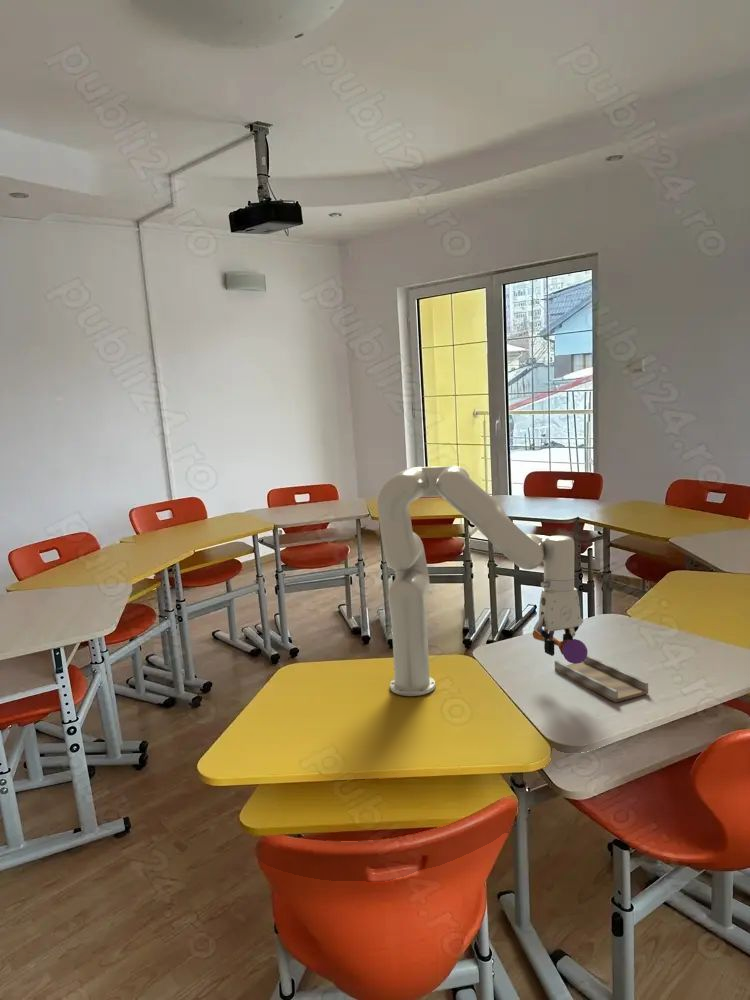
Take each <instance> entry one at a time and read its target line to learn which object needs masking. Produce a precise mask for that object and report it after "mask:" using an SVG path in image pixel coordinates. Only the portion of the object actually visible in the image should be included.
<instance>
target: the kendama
mask: <svg viewBox="0 0 750 1000" xmlns="http://www.w3.org/2000/svg"><path fill="white" fill-rule="evenodd" d="M532 637H533V638H534V640H538V641H540V642H544V638H543V637H542V636H541V635H540V634H539V633H538V632H537V631H535V630H534V629H533V631H532ZM552 640H553V641H554V646H557V647H558V648H559V652H560V653H561V654H562V656H563V658H564V659H565V660H566V661H567V662H568V663H569V664H570V663H571V664H578V663H581V662H583V661H584V660H585V659H586V657H587V655H588V654H589V653H588V647H587V645H586V644H585V643H584V642H583V641H581V640H580V639H577V638H573V640H564V641H563V640H558V639H557V638H555V637H554V636H553V639H552Z"/></svg>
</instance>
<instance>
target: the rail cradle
mask: <svg viewBox="0 0 750 1000" xmlns="http://www.w3.org/2000/svg"><path fill="white" fill-rule="evenodd" d="M554 671H556V672H558V673H559V674H561V675H563V676H565V677H567V678H568V679H569V680H572V681H573V682H576V683H578V684H580V685H581V686H583V687H585V688H587V689H589V690H591V691H593V692H595V693H597V694H599V695H601V696H603V697H604V698H606V699H607V700H610V701H612V702H614V703H618V702H622V701H624V700H625V701H626V700H629V699H633V698H636V697H640V696H643V695H646V694H649V682H647V681H645V680H642V679H641V678H639V677H636V676H633V675H632V674H629V673H628V672H625V671H623V670H621V669H618V667H617V668H616V667H614V666H613V665H610V664H608V663H605V662H603V661H602V660H598V659H596V658H595V657H592V656H590V655H588V654H587V657H586V659H585V660H584V661H583V662H581V663H578V664H573V663H571V664H570V663H569V664H564V663H562V662H560V661H559V660H555V661H554Z"/></svg>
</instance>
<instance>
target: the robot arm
mask: <svg viewBox="0 0 750 1000" xmlns="http://www.w3.org/2000/svg"><path fill="white" fill-rule="evenodd" d="M469 474H470V473H469V472H468V471H467V470H466V469H465V468H463V467H461V466H459V465H447V466H443V465H441V466H414V467H409V468H406V469H404V470H401V471H400V472H398V473H395V475H393V476H392V477H391V478H389V479H388V480H387V481H386V482H385V483H384V485H383V486H382V487H381V489H380V491H379V492H378V495H377V496H378V497H377V500H376V501H377V502H376V508H377V509H376V510H377V515H378V522H379V530H380V535H381V541H382V547H383V554H384V555H383V556H384V559H385V562H386V563H387V565H388V567H389V568H390V569H392V570H394V575H395V578H394V580H393V581H392V583H391V584H390V586H389V589H388V593H387V594H388V595H387V597H388V598H387V599H388V601H387V602H388V607H389V613H390V614H389V615H390V622H391V634H392V647H393V648H392V649H393V650H392V651H393V652H392V653H393V670H394V679H391V681H390V682H389V690H390V691H392V693H394V694H395V695H396V694H397V695H399V696H405V697H416V696H417V697H418V696H425V695H426V694H429V693H431V692H433V691H434V690H435V689H436V687H437V686H436V685H437V684H436V680H435V679H434V678H433V677H431V676H430V661H429V659H430V657H429V641H428V639H429V637H428V626H427V615H426V606H425V605H426V604H425V599H426V596H427V594H428V592H429V590H430V576H429V569H428V563H427V559H426V552H425V547H424V546H425V545H424V544H423V543H424V542H423V541H422V539H421V538H420V536H419V535H418V534H417V533H416V532H414V530H413V525H412V519H411V514H410V509H409V507H410V505H411V504H412V503H414V502H415V501H417V500H418V499H420V498H439V497H440V498H442V499H443V500H444V501H446V502H447V503H448V504H449V505H450V506H452V508H454V509H455V510H456V511H457V512H458V513H459V514H461V516H463V517H464V519H465V518H466V520H468V521H469V522H470V523H471V524H472V525H473V526H475V527H476V528H477V530H478V531H479V532H480V533H481V534H482V535H483V536H484V537H485V538H486V539H487V540H488V541H489V543H491V544H492V545H493V546H494V548H496V549H497V550H498V551H499V552H500V553H502V554H503V555H504V556H505V557H506V558H507V559H508V560H510V561H511V562H512V563H513V564H515V565H516V566H517V567H519V568H521V569H523V570H525V571H526V570H528V571H529V570H530V571H531V570H535V569H537V568H538V567H539V566H541V564H542V563H543V581H542V582H540V587H541V588H542V590H541V595H540V599H539V606H538V607H539V608H538V609H539V610H538V620H537V622H536V623H535V625H534V626H533V631H534V630H535V631H537V632H538V633H539V634H540V635H541V636H542V637H543V638H544V641H543V643H544V644H543V645H544V646H543V647H544V653H545V654H547V655H548V656H551V657H553V656H554V655H555V645H554V641H553V640H552V639H553V637H554V634H555V632H556V631H562V630H563V631H564V633H563V634H562V641H564V640H573V639H574V637H575V636H576V632H577V631H578V630H579V627H581V625H582V624H583V623H584V619H583V618H582V617H581V607H580V597H579V593H578V589H577V588H576V587H575V541H574V538H572V537H570V536H568V535H550V536H549V535H541V534H535V533H525V532H524V531H522V530H521V529H520V528H519V527H518V526H517V525H516V524H515V523H514V522H513V520H511V519H510V518H509V516H508V515H507V514H506V512H505V510H504V509H503V507H502V506H501V504H500V503H499V502H498V501H497V500H496V499H495V498H494V497H492V496H491V495H490V493H487V492H486V491H485V490H484V489H483V488H482V487H481V486H479V484H477V483H476V482H475V481H474V480H472V478H471V477H470V475H469Z"/></svg>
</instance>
